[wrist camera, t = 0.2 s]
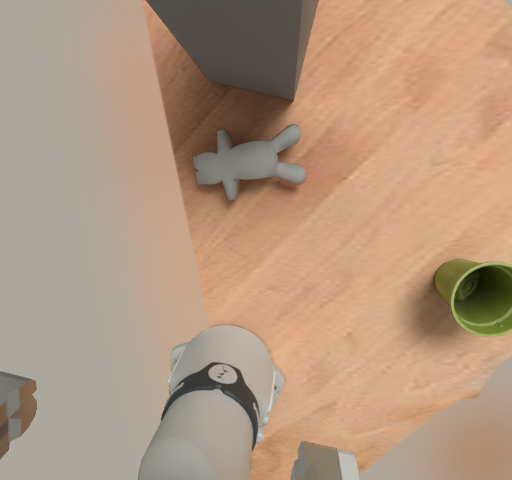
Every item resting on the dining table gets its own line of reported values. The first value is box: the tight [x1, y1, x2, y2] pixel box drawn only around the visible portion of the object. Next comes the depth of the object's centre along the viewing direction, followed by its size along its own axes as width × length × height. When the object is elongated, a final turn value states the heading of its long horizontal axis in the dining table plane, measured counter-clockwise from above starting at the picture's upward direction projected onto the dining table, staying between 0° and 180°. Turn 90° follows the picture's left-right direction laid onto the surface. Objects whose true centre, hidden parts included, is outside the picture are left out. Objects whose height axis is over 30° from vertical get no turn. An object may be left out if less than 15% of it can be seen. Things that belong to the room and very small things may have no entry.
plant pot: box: [434, 259, 512, 337], centre depth 43 cm, size 9×9×9 cm
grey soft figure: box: [193, 124, 306, 200], centre depth 45 cm, size 10×5×15 cm
